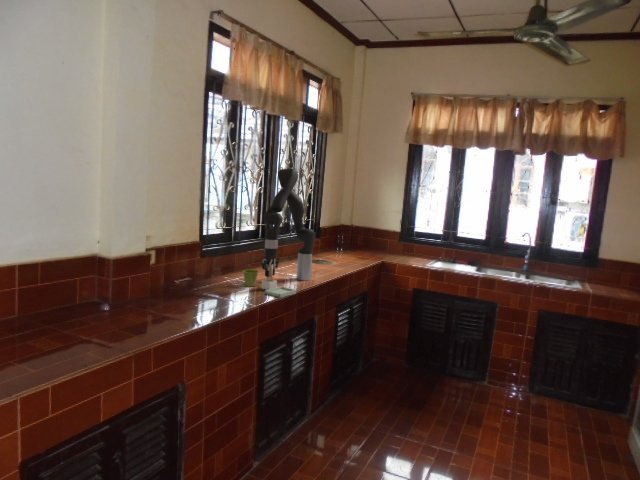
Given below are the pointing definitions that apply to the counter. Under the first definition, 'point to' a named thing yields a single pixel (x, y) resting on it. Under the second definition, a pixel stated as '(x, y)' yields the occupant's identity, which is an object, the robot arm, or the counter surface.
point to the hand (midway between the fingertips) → (269, 275)
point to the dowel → (270, 273)
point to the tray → (280, 291)
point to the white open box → (269, 284)
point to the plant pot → (250, 277)
